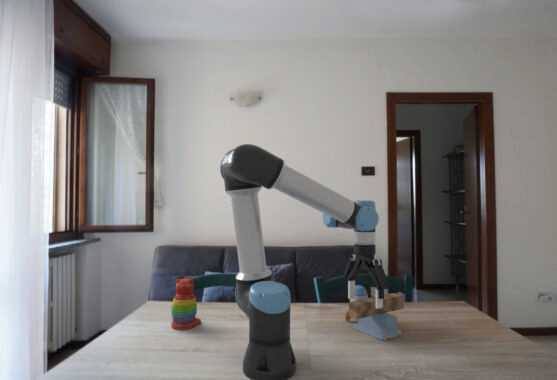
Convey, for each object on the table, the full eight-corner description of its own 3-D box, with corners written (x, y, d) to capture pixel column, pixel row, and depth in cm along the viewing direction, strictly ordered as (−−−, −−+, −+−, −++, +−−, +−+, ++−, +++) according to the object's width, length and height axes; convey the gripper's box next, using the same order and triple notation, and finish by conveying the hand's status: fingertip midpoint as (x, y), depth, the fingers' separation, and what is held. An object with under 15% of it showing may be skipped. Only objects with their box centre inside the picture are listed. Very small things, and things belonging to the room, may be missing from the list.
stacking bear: (202, 321, 140) (203, 276, 141) (193, 331, 130) (194, 281, 131) (175, 320, 141) (176, 275, 142) (165, 329, 131) (165, 281, 132)
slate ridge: (381, 340, 122) (381, 320, 122) (353, 328, 134) (353, 309, 134) (401, 335, 127) (401, 315, 127) (372, 323, 139) (372, 305, 139)
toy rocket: (376, 326, 139) (372, 290, 136) (350, 333, 137) (346, 296, 135) (365, 314, 149) (361, 280, 147) (341, 320, 147) (337, 285, 145)
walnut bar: (357, 319, 123) (357, 304, 123) (349, 316, 126) (349, 301, 126) (403, 308, 135) (403, 295, 136) (395, 305, 139) (395, 292, 139)
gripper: (399, 246, 120) (400, 310, 119) (348, 239, 141) (348, 293, 140) (384, 248, 116) (384, 314, 115) (334, 240, 137) (334, 296, 136)
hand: (364, 303), depth 128 cm, fingers open, 13 cm apart
